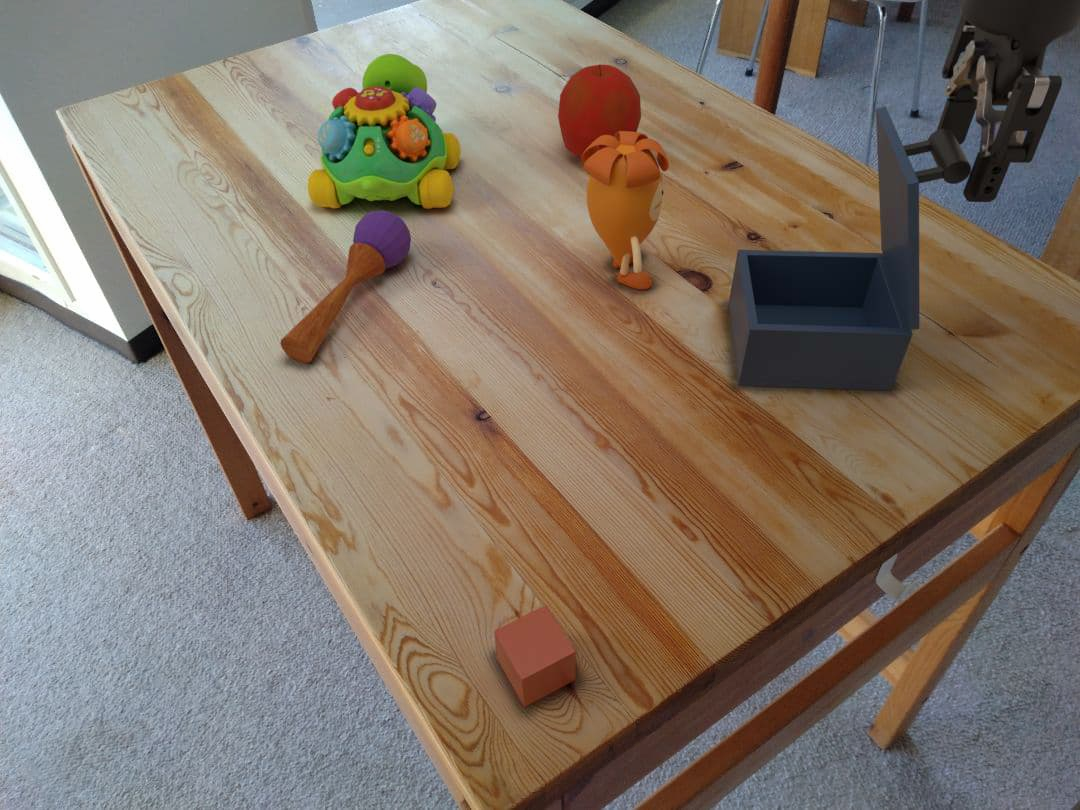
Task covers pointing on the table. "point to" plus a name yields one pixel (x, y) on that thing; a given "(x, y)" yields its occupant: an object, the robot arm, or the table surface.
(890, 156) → the lid
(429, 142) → the turtle toy
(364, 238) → the purple toy maraca
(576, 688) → the table surface
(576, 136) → the apple
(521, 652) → the block
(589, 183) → the toy figure
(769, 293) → the dark blue box
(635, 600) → the table surface
